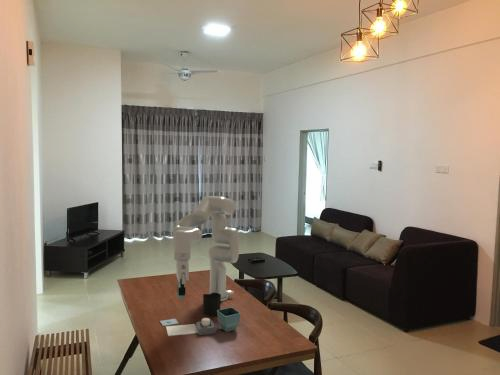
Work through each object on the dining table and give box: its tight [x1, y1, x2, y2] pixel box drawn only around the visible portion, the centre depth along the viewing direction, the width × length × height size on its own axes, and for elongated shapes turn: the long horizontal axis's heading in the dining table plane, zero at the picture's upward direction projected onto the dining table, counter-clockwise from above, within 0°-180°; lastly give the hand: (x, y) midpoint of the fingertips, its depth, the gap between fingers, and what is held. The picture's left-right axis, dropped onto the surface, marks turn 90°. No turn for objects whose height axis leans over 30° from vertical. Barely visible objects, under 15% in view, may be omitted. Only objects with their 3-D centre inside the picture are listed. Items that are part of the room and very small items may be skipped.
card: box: [159, 318, 180, 327], centre depth 205 cm, size 8×6×1 cm
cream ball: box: [201, 317, 211, 327], centre depth 197 cm, size 4×4×4 cm
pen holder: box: [202, 293, 222, 317], centre depth 218 cm, size 9×9×10 cm
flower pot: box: [216, 306, 242, 333], centre depth 199 cm, size 9×9×9 cm
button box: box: [195, 320, 216, 336], centre depth 197 cm, size 8×8×3 cm
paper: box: [165, 323, 198, 337], centre depth 197 cm, size 14×10×1 cm
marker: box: [177, 280, 186, 299], centre depth 195 cm, size 3×3×10 cm
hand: (181, 293), depth 195 cm, fingers closed on marker, 3 cm apart
